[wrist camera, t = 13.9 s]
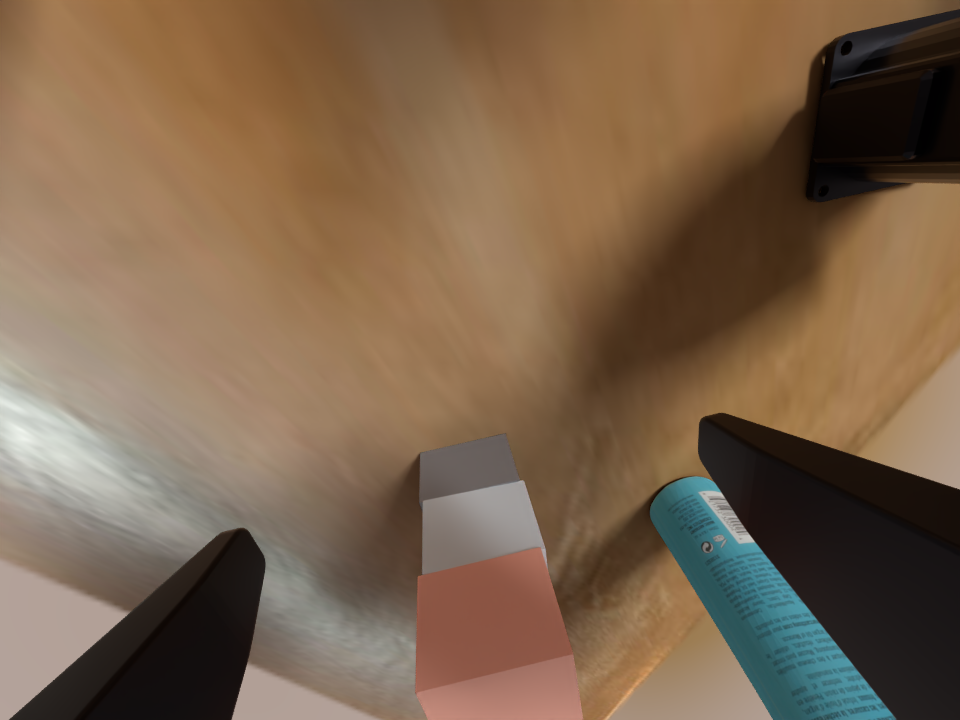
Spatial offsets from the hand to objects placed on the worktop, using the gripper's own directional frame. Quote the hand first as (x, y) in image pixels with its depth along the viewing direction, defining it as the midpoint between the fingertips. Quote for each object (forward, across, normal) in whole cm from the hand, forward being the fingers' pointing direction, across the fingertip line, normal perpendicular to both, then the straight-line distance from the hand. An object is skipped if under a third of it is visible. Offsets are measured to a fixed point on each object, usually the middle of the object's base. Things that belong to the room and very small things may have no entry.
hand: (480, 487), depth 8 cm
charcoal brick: (+13, +1, +11) cm, 17 cm away
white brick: (+9, +1, +11) cm, 14 cm away
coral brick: (+5, +1, +11) cm, 12 cm away
